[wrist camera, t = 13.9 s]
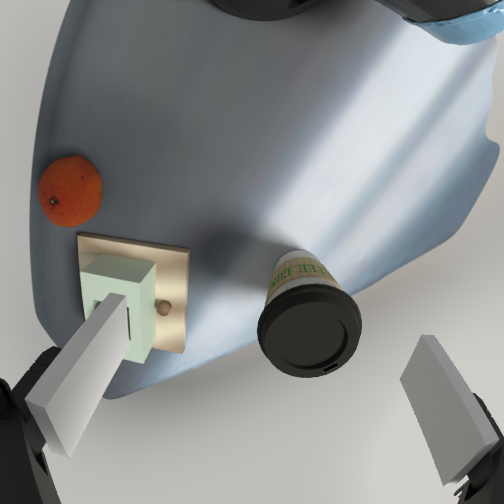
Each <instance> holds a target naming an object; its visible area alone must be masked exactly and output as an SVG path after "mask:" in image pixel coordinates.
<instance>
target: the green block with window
mask: <svg viewBox="0 0 504 504" xmlns="http://www.w3.org/2000/svg"><path fill="white" fill-rule="evenodd" d="M80 277H81V287H82V296H83V305H84V312H85V319H86V320H87V319H88V317H89V316H90V315H91V314H92V313H93V312H94V310H95V309H96V308H97V307H98V306H99V305H100V303H101V302H102V301H103V300H104V299H105V298H106V296H107V295H108V294H109V293H110V292H111V293H116V294H121V295H126V303H127V307H129V319H130V320H129V321H128V334H129V345H130V347H129V349H128V350H127V352H126V354H125V356H124V357H123V359H126V360H130V361H134V362H138V363H142V364H144V362H145V360H146V357H147V355H148V353H149V351H150V349H151V347H152V345H153V343H154V341H155V339H156V263H155V262H149V261H143V260H137V259H131V258H126V257H120V256H114V255H108V254H103V253H101V254H100V255H99V256H98V257H97V258H95V259H94V260H93V261H92V262H91V263H89V264H88V265H87V266H86V267H85V268H83V269H82V270H81V271H80Z"/></svg>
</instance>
